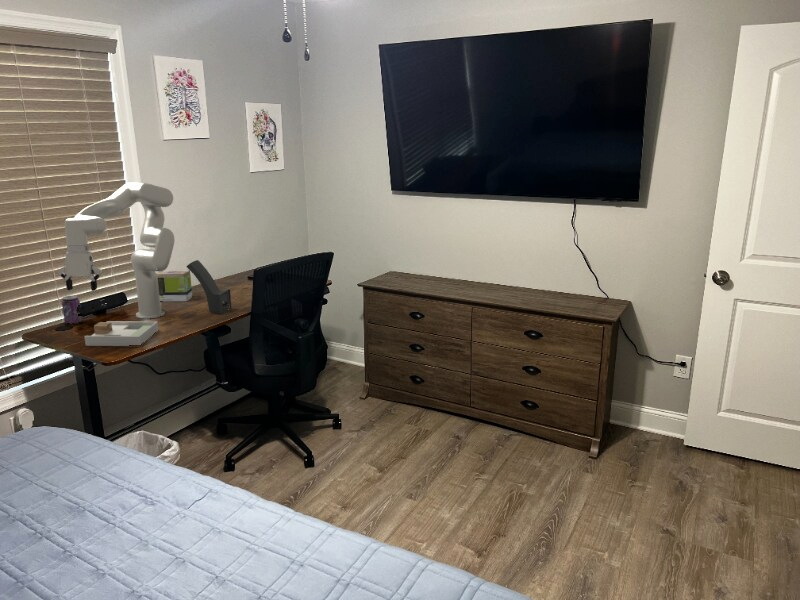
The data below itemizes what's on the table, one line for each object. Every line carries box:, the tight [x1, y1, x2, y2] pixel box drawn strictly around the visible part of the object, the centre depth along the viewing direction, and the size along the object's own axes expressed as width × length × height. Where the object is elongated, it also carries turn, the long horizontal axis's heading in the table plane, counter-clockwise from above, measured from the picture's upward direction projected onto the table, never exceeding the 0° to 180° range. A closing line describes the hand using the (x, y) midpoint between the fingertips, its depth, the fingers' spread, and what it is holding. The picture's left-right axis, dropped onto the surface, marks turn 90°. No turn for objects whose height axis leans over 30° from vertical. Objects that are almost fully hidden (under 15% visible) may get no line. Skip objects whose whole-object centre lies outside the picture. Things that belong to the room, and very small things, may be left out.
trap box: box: [84, 320, 160, 347], centre depth 254 cm, size 20×22×4 cm
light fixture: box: [186, 259, 232, 315], centre depth 290 cm, size 11×17×24 cm, turn 81°
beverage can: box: [61, 294, 83, 325], centre depth 272 cm, size 7×7×12 cm
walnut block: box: [93, 321, 112, 334], centre depth 253 cm, size 5×5×4 cm
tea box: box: [156, 269, 193, 302], centre depth 310 cm, size 15×10×15 cm, turn 92°
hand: (82, 289), depth 249 cm, fingers open, 9 cm apart
